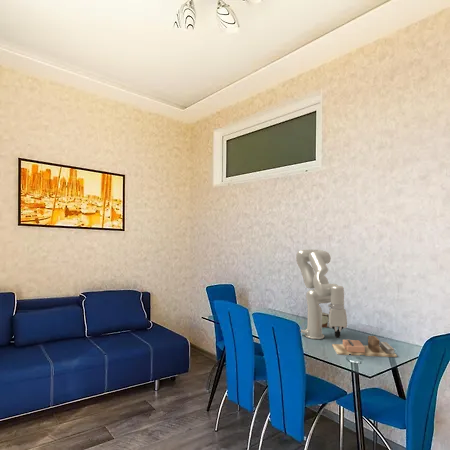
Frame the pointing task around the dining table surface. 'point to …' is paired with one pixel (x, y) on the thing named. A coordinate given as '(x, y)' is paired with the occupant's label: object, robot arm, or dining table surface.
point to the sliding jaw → (353, 346)
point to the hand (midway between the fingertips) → (337, 337)
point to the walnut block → (373, 343)
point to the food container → (325, 320)
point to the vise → (367, 350)
